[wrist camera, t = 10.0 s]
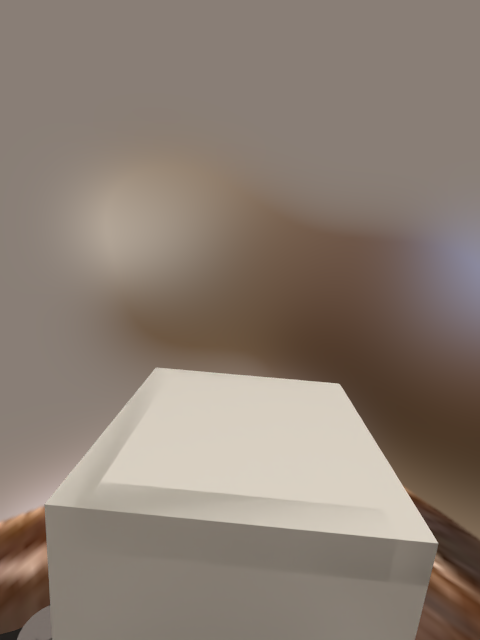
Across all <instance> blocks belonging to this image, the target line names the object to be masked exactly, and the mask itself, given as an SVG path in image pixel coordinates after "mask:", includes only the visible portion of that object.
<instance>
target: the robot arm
mask: <svg viewBox="0 0 480 640" xmlns="http://www.w3.org/2000/svg"><path fill="white" fill-rule="evenodd" d="M0 640H52V624H51V607H50V605H49V606H48V607H46V608H44V609H42V610H40V611H39V612H37V613H36V614H35V615H34V616H32V617H31V618H30V619H29V620H28V621H27V623H26V624H25V625H24V627H22V628H20V629H18V630H15V631H12V632H8V633H4V634H0Z"/></svg>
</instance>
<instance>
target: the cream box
mask: <svg viewBox="0 0 480 640" xmlns="http://www.w3.org/2000/svg"><path fill="white" fill-rule="evenodd" d="M45 519H46V536H47V554H48V572H49V589H50V607H51V624H52V640H415V637H416V633H417V628H418V624H419V620H420V616H421V612H422V608H423V604H424V600H425V596H426V592H427V588H428V584H429V580H430V576H431V571H432V567H433V563H434V559H435V555H436V551H437V547H438V542H437V540H436V539H435V537H434V536H433V534H432V532H431V531H430V529H429V527H428V526H427V524H426V523H425V521H424V519H423V518H422V516H421V515H420V513H419V511H418V510H417V508H416V506H415V505H414V503H413V502H412V500H411V498H410V497H409V495H408V494H407V492H406V490H405V489H404V487H403V486H402V484H401V482H400V481H399V479H398V477H397V476H396V474H395V473H394V471H393V469H392V468H391V466H390V465H389V463H388V461H387V460H386V458H385V457H384V455H383V453H382V452H381V450H380V449H379V447H378V445H377V444H376V442H375V441H374V439H373V437H372V435H371V434H370V432H369V431H368V429H367V428H366V426H365V424H364V423H363V421H362V419H361V418H360V416H359V414H358V413H357V411H356V410H355V408H354V406H353V405H352V403H351V402H350V400H349V398H348V397H347V395H346V394H345V392H344V390H343V389H342V387H341V386H340V384H336V383H324V382H313V381H302V380H291V379H280V378H268V377H257V376H246V375H234V374H223V373H211V372H200V371H189V370H178V369H166V368H155V369H154V371H153V372H152V373H151V374H150V376H149V377H148V378H147V379H146V381H145V382H144V383H143V384H142V385H141V387H140V388H139V390H137V392H136V393H135V394H134V395H133V397H132V398H131V399H130V400H129V401H128V403H127V404H126V405H125V406H124V408H123V409H122V410H121V411H120V412H119V414H118V415H117V416H116V418H115V419H114V420H113V421H112V422H111V424H110V425H109V426H108V427H107V429H106V430H105V431H104V432H103V433H102V435H101V436H100V437H99V438H98V439H97V441H96V442H95V443H94V445H93V446H92V447H91V448H90V449H89V451H88V452H87V453H86V454H85V455H84V457H83V458H82V459H81V461H80V462H79V463H78V464H77V465H76V466H75V468H74V469H73V470H72V471H71V473H70V474H69V475H68V476H67V478H66V479H65V480H64V481H63V482H62V484H61V485H60V486H59V487H58V489H57V490H56V491H55V492H54V494H53V495H52V496H51V497H50V498H49V500H48V501H47V502H46V503H45Z"/></svg>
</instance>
